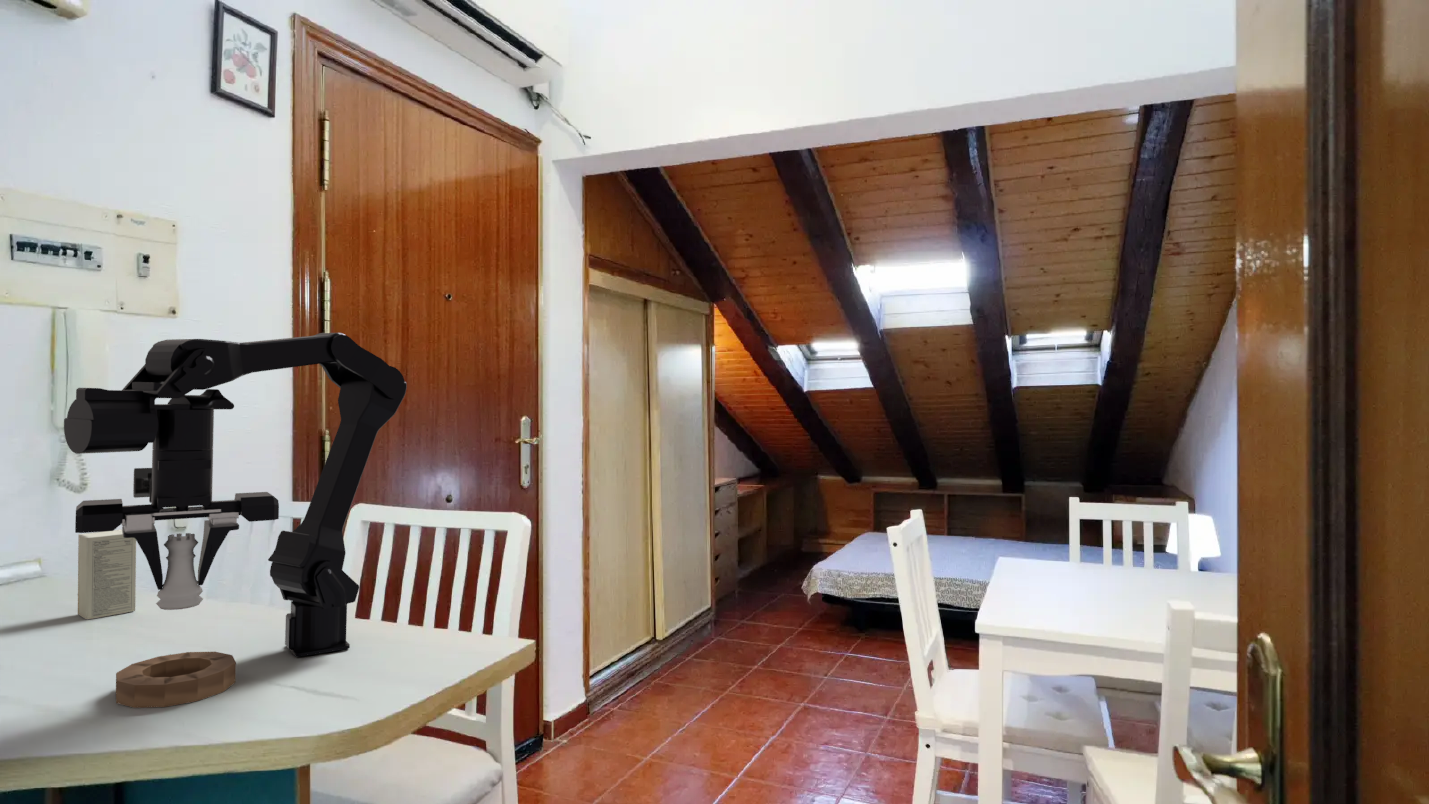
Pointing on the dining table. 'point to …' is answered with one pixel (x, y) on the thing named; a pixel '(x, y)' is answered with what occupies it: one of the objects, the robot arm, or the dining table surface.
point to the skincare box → (106, 574)
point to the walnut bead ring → (175, 679)
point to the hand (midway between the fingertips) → (180, 586)
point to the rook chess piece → (180, 575)
